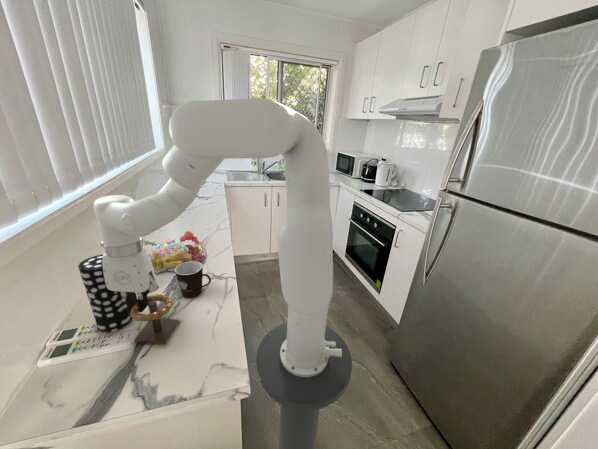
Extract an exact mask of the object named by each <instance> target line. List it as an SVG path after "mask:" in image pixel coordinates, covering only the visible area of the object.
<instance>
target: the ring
mask: <svg viewBox="0 0 598 449" xmlns="http://www.w3.org/2000/svg"><path fill="white" fill-rule="evenodd" d="M147 298H148V303H149V302H151V301H156V302H163V303H164V305H163V307H162V308H160V309H158V311H157V312H154V313H150V312H149V313H142V312H139V310H138V306H137V302H136V303H135V304H134V305H133V307H132V308H131V313H130V316H131V317H132V318H133V319H132V320H135V321H136V322H141V323H142V322H144V323H148V322H149V321H152V320H155V319H158V318H160V319H161V318H162V317H163V316H165V315H167V314H168V313H169V311H170V310H171V309H172V307H173V298H171V297H170V296H168V295H166V294H159V293H157V294H151V295H147Z"/></svg>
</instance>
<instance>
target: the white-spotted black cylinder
mask: <svg viewBox="0 0 598 449" xmlns="http://www.w3.org/2000/svg"><path fill="white" fill-rule="evenodd" d="M103 254H104V253H103ZM103 254H98V255H97V254H96V255H93V256H91V257H88V258H85V259H84V260H82V261H81V262H79V263H78V265H77V268H78V271H79V274H80V277H81V280H82V284H83V286H84V289H85V293H86V296H87V299H88V301H89V305H90V309H91V310H92V314H93V317H94V321H95V324H96V326H97V330H98V331H99V332H101V333H113V332H117V331H119V330H122V329H123V328H125V327H126V326H129V324H130V323H131V322H132V320H134V319H133V318H132V317H131V316H130V313H131V312H128V309H127V305H126V301H125V299H123V298H122V297H121V294H119V293H118V292H117V291H111V290H109V289H108V288H107V287H106V283H105V279H104V274H103V264H102V263H103Z"/></svg>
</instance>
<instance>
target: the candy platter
mask: <svg viewBox="0 0 598 449" xmlns="http://www.w3.org/2000/svg"><path fill="white" fill-rule="evenodd" d="M186 241H191V242H193V243H185V242H186ZM146 251H147V252H148V255H149V257H150V259H151V262H152V265H153V269H154V273H155V274H158V273H161V272H165V271H168V272H175V268H176V267H177V266H178V265H180V264H182V263H184V262H189V261H197V262H200V263H202V262H201V260H205V255H204V253H203V252H204V250H203V247H202V245H201V244H200V240H199V239H198V237H197V236H196V235H194V233H193V232H192V231H189V230H188V231H185V232H184V233H183V235H181V236H180V237H179V238H176V239H172V238H171V237H168V238H166V239H163V240H161V242H159V243H157V244H156V250H154V251H153V249H151V251H150V252H149V251H148V250H146Z"/></svg>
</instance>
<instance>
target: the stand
mask: <svg viewBox="0 0 598 449" xmlns="http://www.w3.org/2000/svg"><path fill="white" fill-rule="evenodd" d="M147 307H148V311H149V314H150V313H154V312H157V311H158V310H159V307H158V301H151V302H149V303H148V306H147ZM179 323H180V319H177V318H176V319H174V318H161V317H160V318H158V319H155V320H152V321H148V322H146V325H145V326H144V327H143V328H142V330H141V331H140V332H139V333H138V335H136V337H135V338H134V340H133V341H134V343H135V344H149V345H151V344H152V345H166V344H167V342H168V341H169V339H170V337H171V336H172V334H173V333H174V331H175V329H176V328H177V327H178V325H179Z"/></svg>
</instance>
